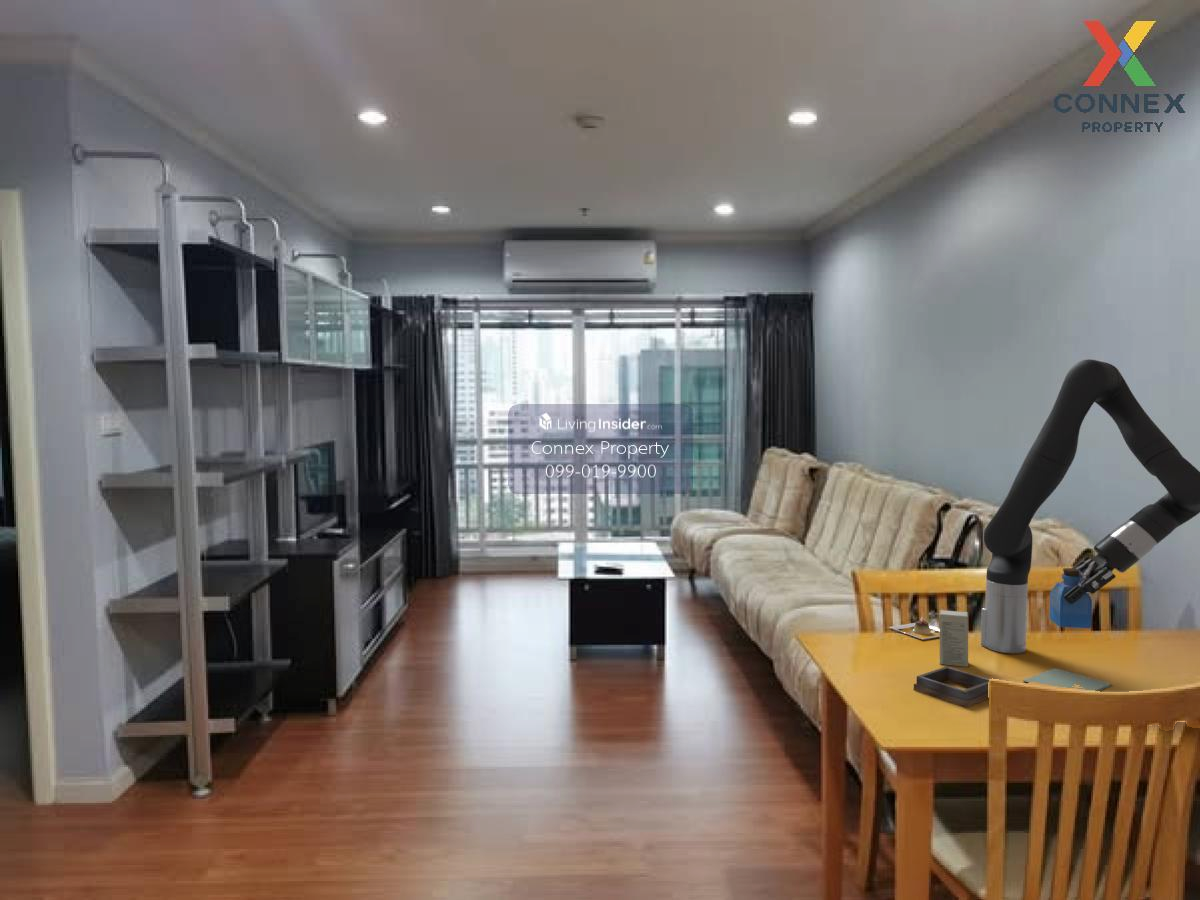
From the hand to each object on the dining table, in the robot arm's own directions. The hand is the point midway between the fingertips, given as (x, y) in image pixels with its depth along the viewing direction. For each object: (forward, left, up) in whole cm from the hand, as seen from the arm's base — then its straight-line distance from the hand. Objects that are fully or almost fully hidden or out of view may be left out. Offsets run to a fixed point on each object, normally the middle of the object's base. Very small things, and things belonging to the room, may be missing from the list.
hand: (1062, 596), depth 173 cm
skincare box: (-21, -7, -20) cm, 29 cm away
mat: (+1, +1, -19) cm, 19 cm away
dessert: (-40, +9, -20) cm, 46 cm away
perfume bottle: (+1, +1, -6) cm, 6 cm away
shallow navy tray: (-10, -24, -19) cm, 32 cm away
